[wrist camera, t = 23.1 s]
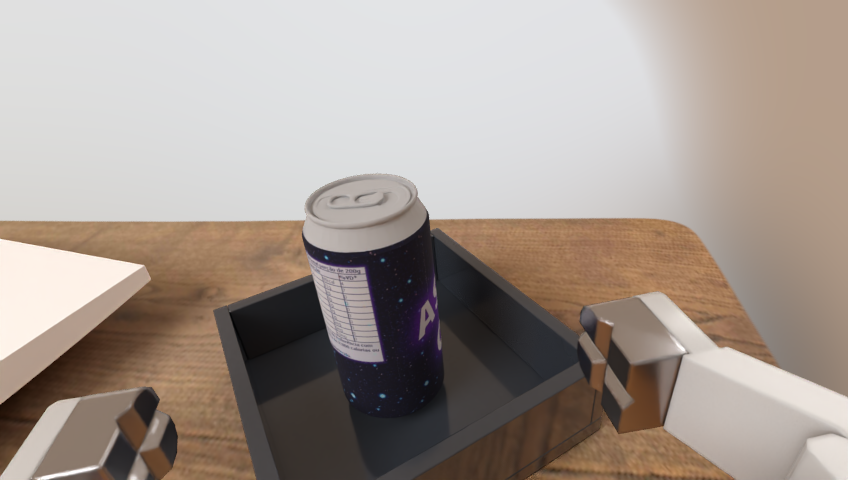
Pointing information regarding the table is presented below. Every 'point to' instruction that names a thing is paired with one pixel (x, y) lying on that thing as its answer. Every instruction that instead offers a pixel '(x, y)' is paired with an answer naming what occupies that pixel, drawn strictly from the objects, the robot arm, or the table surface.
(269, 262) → the table surface
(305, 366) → the open box
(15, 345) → the board
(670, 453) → the table surface
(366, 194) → the beverage can
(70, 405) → the robot arm
